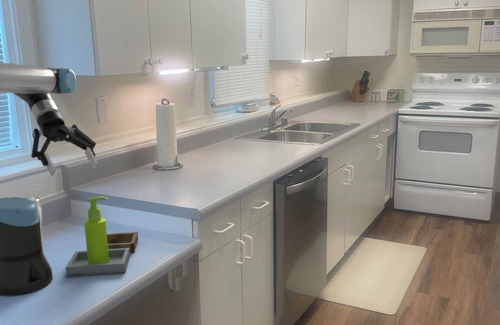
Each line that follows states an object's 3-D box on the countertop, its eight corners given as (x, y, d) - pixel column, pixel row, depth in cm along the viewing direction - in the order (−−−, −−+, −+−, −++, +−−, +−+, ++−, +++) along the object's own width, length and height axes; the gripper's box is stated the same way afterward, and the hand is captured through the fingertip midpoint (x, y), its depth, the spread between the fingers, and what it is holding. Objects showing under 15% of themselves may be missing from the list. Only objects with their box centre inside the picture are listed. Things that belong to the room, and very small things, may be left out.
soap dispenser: (113, 264, 143) (108, 198, 139) (89, 268, 141) (82, 201, 137) (111, 257, 149) (106, 193, 145) (87, 261, 146) (81, 196, 142)
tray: (66, 277, 138) (65, 267, 137) (76, 260, 150) (75, 251, 149) (124, 273, 140) (124, 263, 139) (129, 257, 151) (129, 247, 151)
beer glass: (24, 240, 168) (19, 197, 165) (46, 237, 170) (41, 195, 167) (21, 247, 162) (16, 203, 159) (44, 244, 164) (39, 201, 161)
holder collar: (95, 255, 153) (94, 246, 153) (101, 242, 164) (100, 234, 164) (134, 252, 155) (133, 243, 154) (138, 240, 166) (137, 231, 165)
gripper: (81, 121, 168) (107, 170, 161) (5, 129, 151) (31, 184, 143) (87, 106, 164) (115, 155, 156) (10, 112, 146) (37, 168, 139)
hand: (75, 169), depth 150 cm, fingers open, 13 cm apart
